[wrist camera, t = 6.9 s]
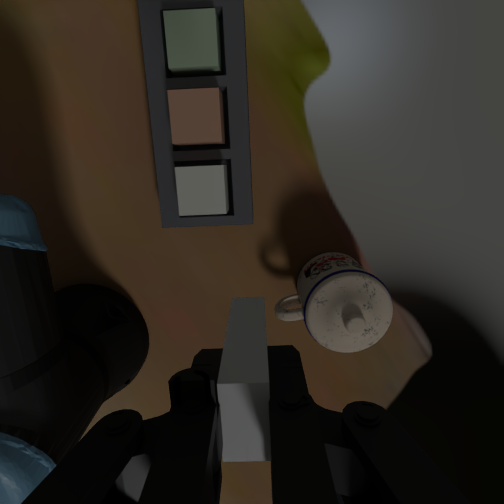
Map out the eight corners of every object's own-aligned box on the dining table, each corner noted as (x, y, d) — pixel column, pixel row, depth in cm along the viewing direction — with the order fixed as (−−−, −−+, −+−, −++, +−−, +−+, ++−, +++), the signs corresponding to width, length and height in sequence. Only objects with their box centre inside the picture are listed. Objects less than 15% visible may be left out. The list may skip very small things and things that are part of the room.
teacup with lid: (362, 242, 42) (400, 271, 31) (370, 310, 45) (409, 359, 33) (266, 261, 43) (269, 295, 32) (279, 326, 45) (286, 380, 34)
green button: (176, 77, 36) (168, 68, 33) (172, 25, 35) (163, 10, 32) (222, 74, 36) (218, 65, 33) (219, 23, 35) (215, 8, 32)
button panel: (171, 221, 42) (162, 227, 38) (149, 16, 37) (137, -2, 33) (253, 218, 42) (253, 224, 38) (244, 11, 36) (242, -8, 32)
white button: (186, 211, 39) (179, 215, 35) (182, 166, 37) (174, 167, 34) (229, 209, 38) (226, 213, 35) (226, 164, 37) (223, 165, 34)
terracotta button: (180, 145, 37) (172, 143, 33) (175, 97, 36) (167, 90, 32) (225, 143, 37) (221, 141, 33) (222, 94, 36) (218, 87, 32)
